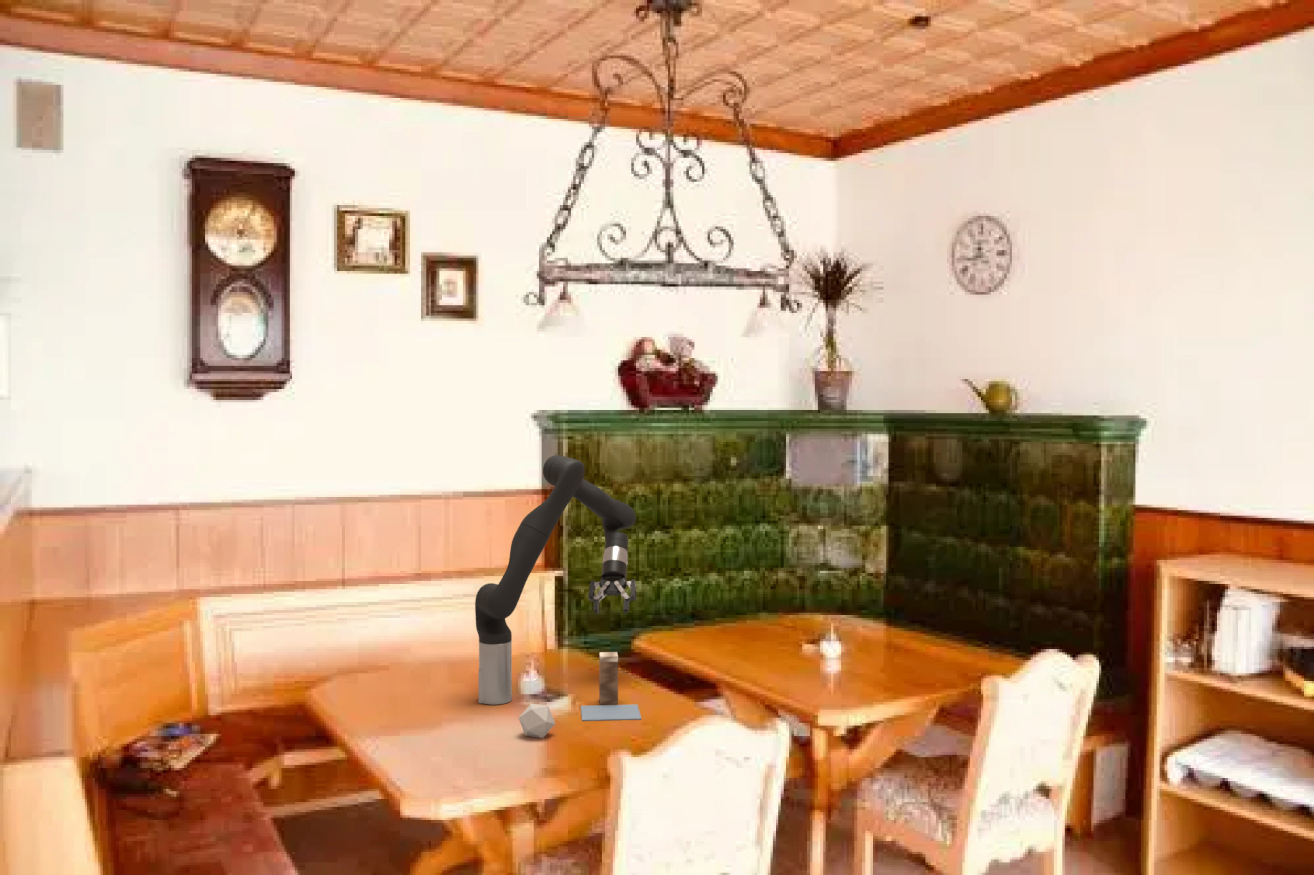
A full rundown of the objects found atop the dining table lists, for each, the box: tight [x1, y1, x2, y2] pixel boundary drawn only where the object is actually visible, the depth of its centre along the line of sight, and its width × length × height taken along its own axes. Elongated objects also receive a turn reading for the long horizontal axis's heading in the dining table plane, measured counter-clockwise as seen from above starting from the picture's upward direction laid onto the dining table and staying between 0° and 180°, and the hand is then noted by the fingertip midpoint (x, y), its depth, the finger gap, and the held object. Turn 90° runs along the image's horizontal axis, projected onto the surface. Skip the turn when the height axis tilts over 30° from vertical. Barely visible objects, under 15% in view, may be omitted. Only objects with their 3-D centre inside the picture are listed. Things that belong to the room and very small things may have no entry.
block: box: [598, 651, 619, 705], centre depth 322 cm, size 5×5×14 cm
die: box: [518, 703, 556, 739], centre depth 294 cm, size 8×9×10 cm
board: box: [580, 703, 642, 722], centre depth 313 cm, size 16×13×1 cm
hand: (610, 612), depth 338 cm, fingers open, 8 cm apart
